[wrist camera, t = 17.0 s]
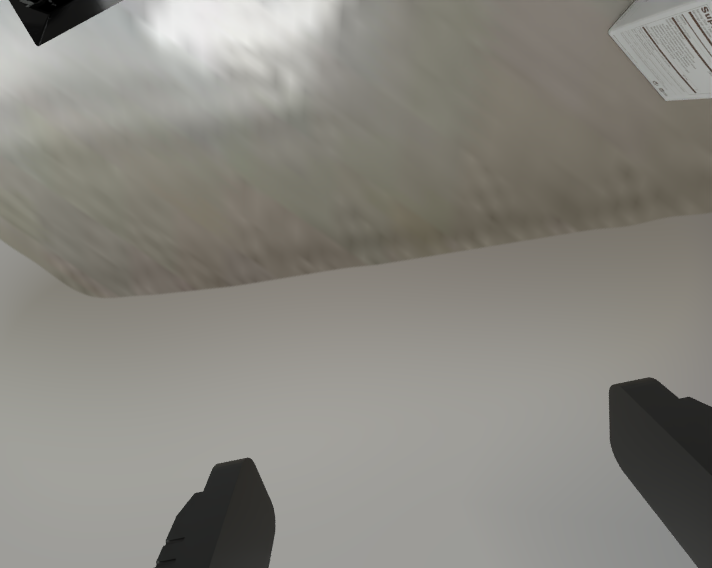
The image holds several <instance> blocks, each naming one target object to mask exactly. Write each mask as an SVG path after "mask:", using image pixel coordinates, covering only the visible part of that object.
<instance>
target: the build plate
mask: <svg viewBox="0 0 712 568" xmlns="http://www.w3.org/2000/svg"><path fill="white" fill-rule="evenodd" d="M9 1H10V3H11V4H12V6H13V8H14V9H15V11H16V13H17V14H18V16H19V18H20V19H21V21H22V23H23V24H24V26H25V28H26V29H27V31H28V32H29V34H30V36H31V37H32V39H33V41H34V42H35V44H36V45H37V46H40V45H42V44H43V43H45V42H47V41H49V40H51V39H53V38H54V37H56V36H58V35H60V34H62V33H64V32H66V31H67V30H69V29H71V28H73V27H75V26H77V25H78V24H80V23H82V22H84V21H86V20H88V19H89V18H91V17H93V16H95V15H97V14H99V13H100V12H102V11H104V10H106V9H108V8H110V7H111V6H113V5H115V4H117V3H119V2H121V1H122V0H9Z"/></svg>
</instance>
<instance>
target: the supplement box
mask: <svg viewBox="0 0 712 568" xmlns="http://www.w3.org/2000/svg"><path fill="white" fill-rule="evenodd" d="M608 33H609V35H610V36H611V37H612V38H613V40H614V41H615V42H616V43H617V44H618V46H619V47H620V48H621V49H622V50H623V51H624V53H625V54H626V55H627V56H628V57H629V59H630V60H631V61H632V62H633V63H634V64H635V66H636V67H637V68H638V69H639V70H640V71H641V73H642V74H643V75H644V76H645V77H646V78H647V80H648V81H649V82H650V83H651V84H652V85H653V87H654V88H655V89H656V90H657V91H658V93H659V94H660V95H661V96H662V97H663V98H664V99H665V101H673V100H687V99H705V98H712V0H635V2H634V3H633V4H632V5H631V6H630V7H629V8H628V9H627V10H626V11H625V13H624V14H623V15H622V16H621V17H620V18H619V19H618V20H617V21H616V22H615V24H614V25H613V26H612V27H611V28H610V29H609V31H608Z"/></svg>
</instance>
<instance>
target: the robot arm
mask: <svg viewBox="0 0 712 568" xmlns="http://www.w3.org/2000/svg"><path fill="white" fill-rule="evenodd" d="M609 417H610V418H609V419H610V443H611V447H612V451H613V453H614V456H615V458H616V460H617V462H618V464H619V466H620V467H621V469H622V470H623V472H624V473H625V474H626V476H627V477H628V478H629V479H630V481H631V482H632V483H633V485H634V486H635V487H636V489H637V490H638V491H639V492H640V494H641V495H642V496H643V498H644V499H645V500H646V501H647V503H648V504H649V505H650V507H651V508H652V509H653V510H654V512H655V513H656V514H657V515H658V517H659V518H660V519H661V520H662V522H663V523H664V524H665V526H666V527H667V528H668V530H669V531H670V532H671V533H672V535H673V536H674V537H675V538H676V540H677V541H678V542H679V544H680V545H681V546H682V547H683V549H684V550H685V551H686V553H687V554H688V555H689V556H690V558H691V559H692V560H693V562H694V563H695V564H696V565H697V567H698V568H712V407H711V406H708V405H706V404H704V403H702V402H699V401H697V400H695V399H693V398H691V397H686V398H681V399H679V398H678V397H677V396H675V395H674V394H673V393H672V392H671V391H669V390H668V389H667V388H666V387H665V386H663V385H662V384H661V383H660V382H659V381H657V380H656V379H654V378H643V379H638V380H634V381H629V382H624V383H619V384H614V385H612V386H611V387H610V390H609ZM274 535H275V514H274V508H273V505H272V502H271V500H270V497H269V495H268V493H267V491H266V488H265V486H264V484H263V482H262V479H261V477H260V475H259V473H258V470H257V468H256V466H255V464H254V462H253V460H252V459H250V458H244V459H239V460H234V461H229V462H224V463H219V464H216V465H215V466H214V467H213V469H212V471H211V474H210V476H209V479H208V481H207V484H206V486H205V488H204V491H203V492H199V493H195V494H194V495H193V496H192V497H191V499H190V500H189V501H188V502H187V504H186V505H185V506H184V508H183V509H182V510H181V511H180V512H179V514H178V515H177V516H176V519H175V521H174V523H173V525H172V528H171V530H170V532H169V534H168V537H167V539H166V545H165V546H163V548H162V550H161V552H160V555H159V557H158V559H157V561H156V563H157V565H156V567H155V568H268V567H269V562H270V557H271V551H272V546H273V540H274Z"/></svg>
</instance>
